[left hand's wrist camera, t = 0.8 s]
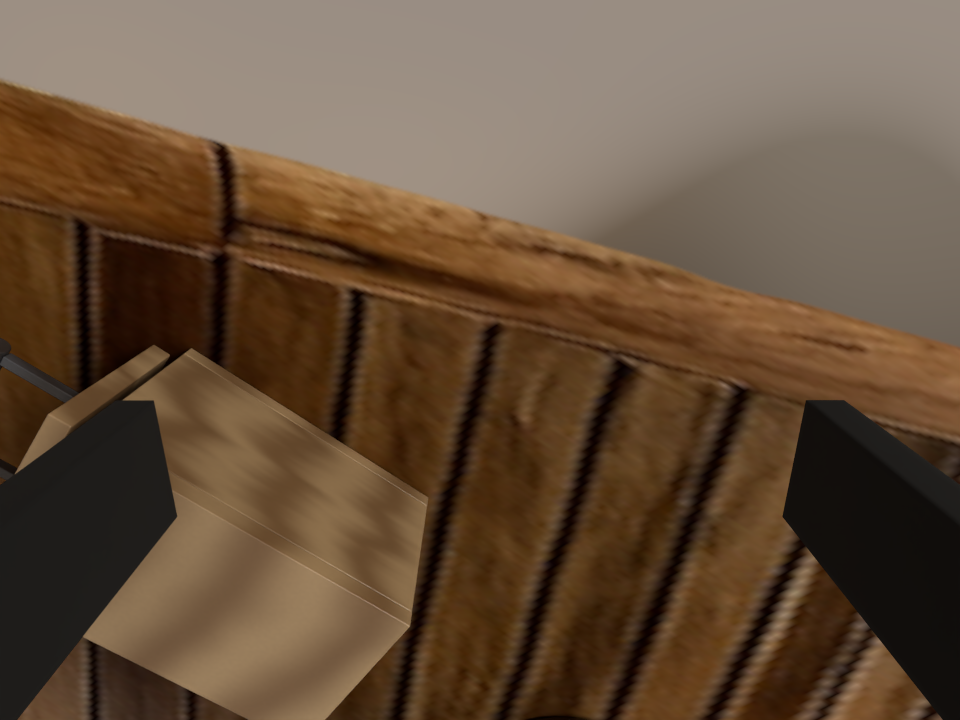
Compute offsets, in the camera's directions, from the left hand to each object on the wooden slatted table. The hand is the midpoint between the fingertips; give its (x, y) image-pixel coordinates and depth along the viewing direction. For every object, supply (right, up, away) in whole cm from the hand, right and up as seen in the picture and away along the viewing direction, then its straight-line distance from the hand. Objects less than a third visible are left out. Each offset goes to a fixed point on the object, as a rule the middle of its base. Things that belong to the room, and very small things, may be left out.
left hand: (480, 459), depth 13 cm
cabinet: (-14, -7, +31) cm, 34 cm away
